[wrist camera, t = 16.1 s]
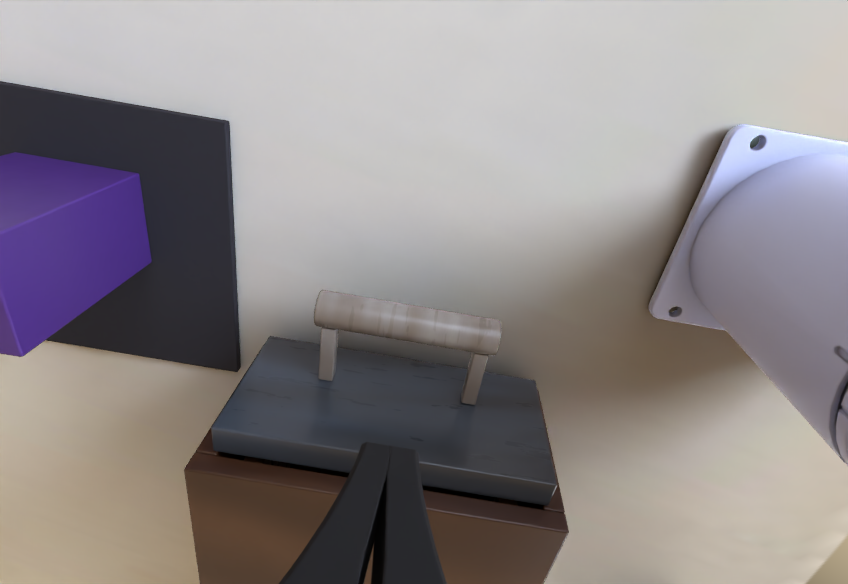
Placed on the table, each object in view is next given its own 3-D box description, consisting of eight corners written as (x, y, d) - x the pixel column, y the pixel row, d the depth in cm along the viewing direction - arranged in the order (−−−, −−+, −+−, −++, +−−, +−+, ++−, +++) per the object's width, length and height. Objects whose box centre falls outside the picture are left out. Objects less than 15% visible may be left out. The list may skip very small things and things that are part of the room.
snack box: (139, 172, 19) (-17, 239, 13) (152, 262, 21) (22, 358, 15) (14, 151, 19) (-204, 208, 13) (39, 242, 21) (-140, 331, 14)
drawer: (268, 256, 20) (201, 334, 14) (561, 306, 20) (595, 400, 15) (270, 519, 28) (228, 627, 23) (475, 553, 28) (478, 666, 23)
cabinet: (264, 342, 23) (183, 469, 16) (538, 388, 23) (569, 532, 16) (266, 528, 30) (211, 669, 23) (476, 562, 30) (481, 711, 23)
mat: (229, 120, 18) (225, 122, 18) (241, 367, 24) (237, 372, 23) (-245, 38, 18) (-259, 38, 17) (-116, 307, 23) (-125, 312, 23)
